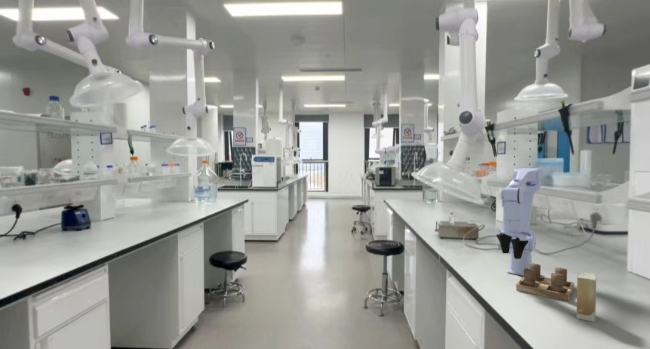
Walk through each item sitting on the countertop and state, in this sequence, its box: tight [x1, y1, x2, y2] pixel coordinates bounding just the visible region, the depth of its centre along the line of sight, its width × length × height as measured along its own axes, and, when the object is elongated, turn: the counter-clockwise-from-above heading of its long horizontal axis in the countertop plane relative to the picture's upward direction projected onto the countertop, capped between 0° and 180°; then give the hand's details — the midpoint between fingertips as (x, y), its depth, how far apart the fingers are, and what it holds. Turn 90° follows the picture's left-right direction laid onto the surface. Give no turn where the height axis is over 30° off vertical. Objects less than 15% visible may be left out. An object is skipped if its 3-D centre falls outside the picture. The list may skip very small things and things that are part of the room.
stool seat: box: [515, 262, 575, 302], centre depth 121 cm, size 15×15×7 cm
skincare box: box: [576, 271, 597, 323], centre depth 100 cm, size 6×4×12 cm
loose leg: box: [523, 269, 536, 288], centre depth 121 cm, size 4×4×7 cm
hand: (511, 255), depth 129 cm, fingers open, 7 cm apart
